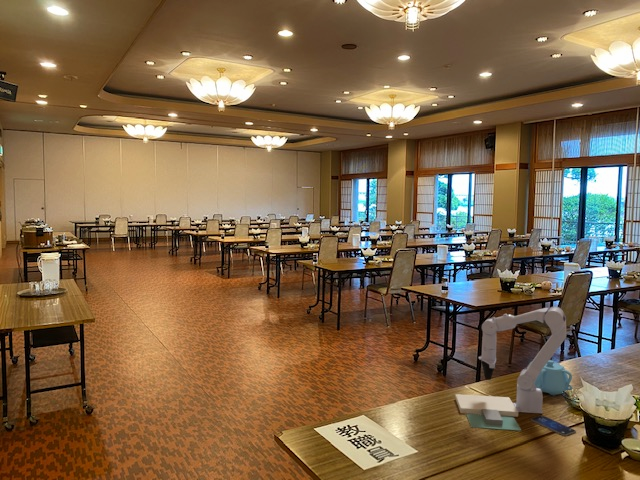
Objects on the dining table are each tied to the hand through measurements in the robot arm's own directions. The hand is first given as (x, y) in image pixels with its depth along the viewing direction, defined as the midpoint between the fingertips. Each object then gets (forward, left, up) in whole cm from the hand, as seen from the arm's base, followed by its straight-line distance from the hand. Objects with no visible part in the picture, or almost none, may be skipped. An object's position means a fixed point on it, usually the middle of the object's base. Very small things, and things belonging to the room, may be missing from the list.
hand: (487, 379), depth 204 cm
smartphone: (-20, +20, -10) cm, 30 cm away
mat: (+2, +21, -9) cm, 23 cm away
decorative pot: (-30, -16, -10) cm, 35 cm away
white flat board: (+2, +7, -9) cm, 12 cm away
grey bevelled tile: (+2, +19, -9) cm, 21 cm away
